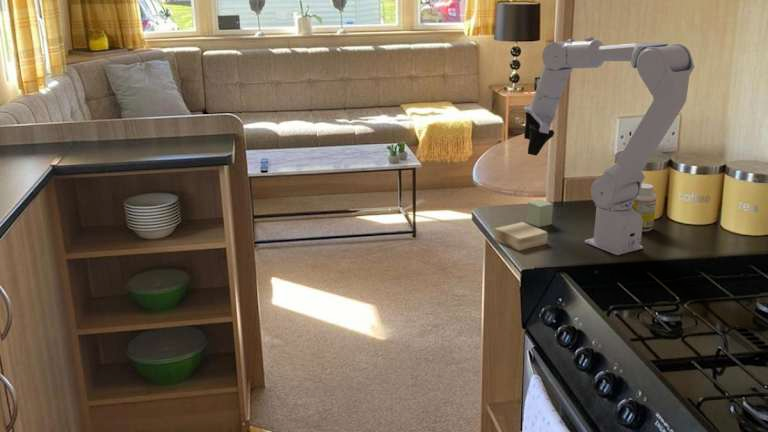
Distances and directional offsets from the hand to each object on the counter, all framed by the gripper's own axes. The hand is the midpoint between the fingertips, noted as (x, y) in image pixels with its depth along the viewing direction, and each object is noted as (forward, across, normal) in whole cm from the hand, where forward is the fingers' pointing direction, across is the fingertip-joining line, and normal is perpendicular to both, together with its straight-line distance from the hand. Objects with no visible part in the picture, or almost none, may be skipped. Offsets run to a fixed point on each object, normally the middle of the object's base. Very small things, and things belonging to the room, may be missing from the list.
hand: (530, 146), depth 183 cm
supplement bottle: (+10, +11, +28) cm, 31 cm away
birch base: (+13, +21, -1) cm, 25 cm away
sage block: (+15, +9, +6) cm, 18 cm away
